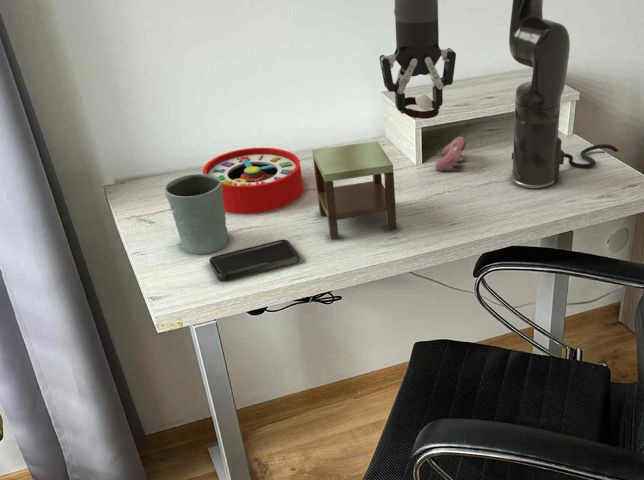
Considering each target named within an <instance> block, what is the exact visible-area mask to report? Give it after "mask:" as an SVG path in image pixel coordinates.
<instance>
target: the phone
mask: <svg viewBox="0 0 644 480" xmlns="http://www.w3.org/2000/svg"><path fill="white" fill-rule="evenodd" d="M208 261H209V265H210V268H211V269H212V271H213V273H214V274H215V276H216V278H217V279H218V281H220V282H227V281H231V280H235V279H239V278H243V277H247V276H251V275H254V274H258V273H263V272H267V271H270V270H274V269H278V268H281V267H285V266H290V265H293V264H296V263H298V262H300V256H299V253H298V251H297V250H296V249H295V248H294V246H293V245H292V244H291V243H290V241H289V240H287V239H278V240H275V241H270V242H266V243H262V244H258V245H254V246H250V247H246V248H242V249H238V250H234V251H230V252H224V253H221V254H218V255H217V254H216V255H214V256H213V255H212V256H211V257H209V258H208Z"/></svg>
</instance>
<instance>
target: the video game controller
mask: <svg viewBox="0 0 644 480" xmlns="http://www.w3.org/2000/svg"><path fill="white" fill-rule="evenodd" d="M467 143H468V139H466V138H465V137H463V136H461V137H460V136H459V135H458V137H455V138H454V139H453V140H452V141H451V142H450V143H449V144H447V145H446V146H445V147H444V148H443V150H442V154H443V155H444V156H443V157H442V158H441V159H439V160H438V161H436V163H435V170H436V171H438V172H443V171H447V170H449V169H450V168H454V166H455V165H456V164H457V162H462V160H463V156H462V152H463V151H464V150H465V148H466V145H467Z"/></svg>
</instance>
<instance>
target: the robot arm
mask: <svg viewBox="0 0 644 480" xmlns="http://www.w3.org/2000/svg"><path fill="white" fill-rule="evenodd" d="M543 4H544V0H512V6H511V15H510V23H509V31H508V32H509V34H508V46H509V47H508V48H509V52H510V55H511V57H512V58H513V60H514V61H515V62H517V63H518V64H520V65H523V66H525V67H529V68H532V76H531V81H527V82H523V83H521V84H519V85H518V86H517V87H516V89H515V95H514V96H515V97H514V124H513V125H514V126H513V149H512V150H513V151H512V153H511V160H512V170H511V181H512V183H514V184H515V185H516V186H519V187H522V188H525V189H543V188H544V189H545V188H547V187H550V186H552V185H554V184H555V183H559V180H560V179H559V178H560V166H561V165H564V163H565V158H567V159H568V164H569V165H570V166H572V167H573V168H578V169H579V168H580V169H590V168H592V167H594V166H595V165H596V161H595V159H594V158H592V157H590V156H588V155H587V153H588V152H591V151H594V150H595V151H596V150H598V149H609V150H611V151H613V152H615V153H616V152H619V149H618V148H617V147H615V146H614V145H612V144H607V143H602V144H594V145H591V146H589V147H586V148H584V149H583V150H581V151H580V154H579V155H580V157H581V158H582V159H583V160H585V161H587V162H589V163H578V162H575V161H574V157H573V155H572V154H570V153H565V151H564V150H563V149H562V139H561V138H560V137H559V126H560V114H561V113H560V112H561V101H562V95H563V93H564V89H565V87H566V82H567V74H568V65H569V58H570V49H571V48H570V46H571V41H570V40H571V39H570V34H569V31H568V29H567V27H565V25H564V24H562V23H559V22H556V21H552V20H549V19H547V18H544V17H543V16H544V14H543V13H544V12H543V8H544V7H543ZM393 10H394V11H393V14H394V21H395V23H394V24H395V43H396V45H395V46H396V48H395V50H394V53H393V54H390V55H386V54H381V55H380V56H378V57H379V58H378V59H379V65H380V70H381V75H382V79H383V84H384V87H385V88H386V90H387V91H388V92H390V93H392V92H393V93H394V100H395V101H394V102H395V107H396V109H397V111H398V112H399V113H400V114H404V113H406V109H405V98H406V93H405V90H406V87H407V85H408V83H410V81H411V78H412V77H417V76H420V75H422V76H429V78H430V80H431V81H432V84H433V86H432V87H431V88H432V101H434V102H436V103H438V108H439V110H440V109H441V107H442V106H443V102H444V100H443V97H444V96H443V95H444V93H443V90H444V88H445V87H446V86H451V85H452V84H453V82H454V75H455V66H456V59H457V53H456V52H455V51H454V50H453V49H452V48H451V47H450V48H449V47H447V48H446V49H441V47H440V44H439V41H440V40H439V39H440V35H439V34H440V33H439V0H394V9H393ZM440 58H441V60H442V61H443V70H442V76H441V77H440V74H439V71H438V70H437V69H436V67H435V66H436V65H437V64H438V61H439V60H440ZM395 62H396V63H397V64H398V65H399V66H400V68H399V70H398V73H397V77H396V80H395V82H394V79H393V73H392V69H393V68H394V67H395V65H394V64H395Z"/></svg>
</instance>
